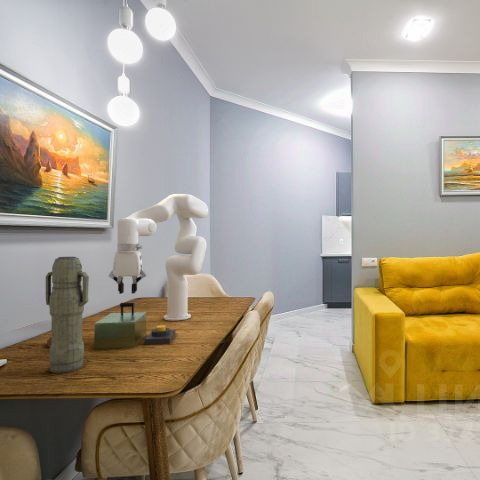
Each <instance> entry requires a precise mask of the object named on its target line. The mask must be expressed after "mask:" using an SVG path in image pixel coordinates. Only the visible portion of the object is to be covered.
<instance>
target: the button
mask: <svg viewBox="0 0 480 480" xmlns="http://www.w3.org/2000/svg"><path fill="white" fill-rule="evenodd" d="M166 328H167V325H164V324H161V325H157V326H155V329H156V331H165V330H166Z"/></svg>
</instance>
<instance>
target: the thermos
mask: <svg viewBox="0 0 480 480" xmlns="http://www.w3.org/2000/svg"><path fill="white" fill-rule="evenodd" d="M89 280H90V276H89V274H87V272H86V271H83V265H82V263H81V260H80V258H79V257H77V256H58V258H55V259H54V261H53V264H52V267H51V271H49V272H47V274H46V275H45V304H46V306H48V308H49V315H50V319H51V324H50V325H51V326H50V327H51V328H50V329H51V336H50V337H51V347H49V348H48V363H49V372H50V373H54V374H61V373H62V374H63V373H69V372H73V371H76V370H79V369H81V368H82V367H84V358H85V342H84V341H83V313H84V311H85V305H87V303H88V302H89Z"/></svg>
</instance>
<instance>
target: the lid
mask: <svg viewBox="0 0 480 480" xmlns="http://www.w3.org/2000/svg"><path fill="white" fill-rule="evenodd" d="M135 306H136V303H135V302H134V301H132V302H120V304H119V307H120V312H110V313H108V314H107V315H106V316H104V317H102V318H101V319H99V320H98V321H95V322H94V324H93V325H94V326H95V325H119V324H135V323H137V322H138V321H139V320H140V319H141V318H143V317H144V316H145V315H146V316H147V314H148V312H147V311H136V312H135ZM124 308H131V312H124Z"/></svg>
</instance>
